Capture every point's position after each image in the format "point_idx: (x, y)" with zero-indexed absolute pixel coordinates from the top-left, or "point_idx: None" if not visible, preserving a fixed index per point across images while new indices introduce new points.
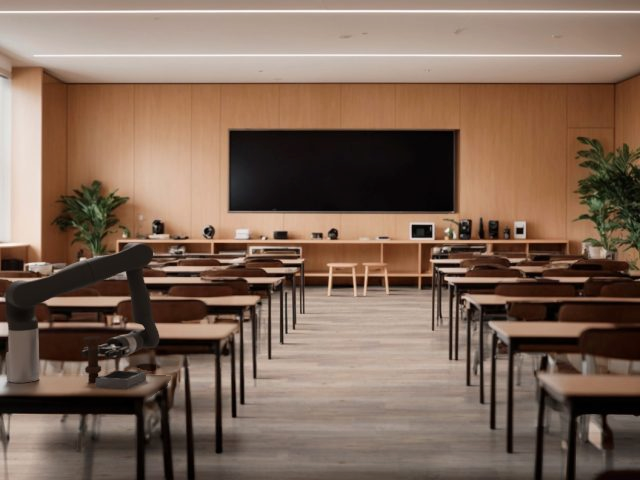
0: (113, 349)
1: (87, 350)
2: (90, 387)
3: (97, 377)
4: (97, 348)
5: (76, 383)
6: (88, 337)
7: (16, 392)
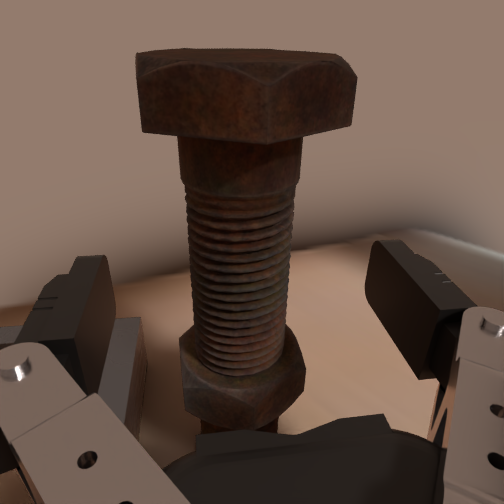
0: (33, 361)
1: (405, 277)
2: (179, 354)
3: (135, 326)
4: (188, 199)
5: (339, 394)
6: (281, 52)
7: (408, 241)
